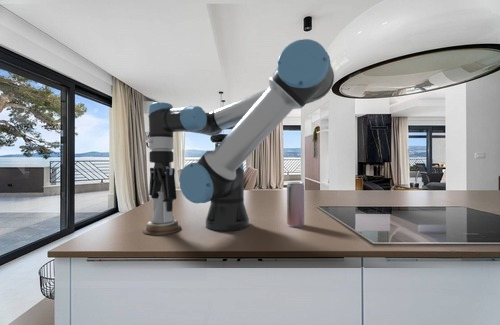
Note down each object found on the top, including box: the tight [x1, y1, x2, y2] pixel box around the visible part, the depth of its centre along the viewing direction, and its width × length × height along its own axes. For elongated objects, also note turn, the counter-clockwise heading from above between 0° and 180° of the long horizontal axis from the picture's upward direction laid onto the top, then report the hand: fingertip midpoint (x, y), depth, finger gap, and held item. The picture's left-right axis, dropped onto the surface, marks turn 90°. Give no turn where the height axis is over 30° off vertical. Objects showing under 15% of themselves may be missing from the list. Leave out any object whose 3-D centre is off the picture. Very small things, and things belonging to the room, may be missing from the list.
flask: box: [150, 190, 175, 223], centre depth 84 cm, size 7×7×10 cm
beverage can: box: [286, 181, 305, 228], centre depth 89 cm, size 6×6×15 cm
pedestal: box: [142, 218, 182, 236], centre depth 84 cm, size 12×12×3 cm
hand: (162, 219), depth 84 cm, fingers open, 8 cm apart
